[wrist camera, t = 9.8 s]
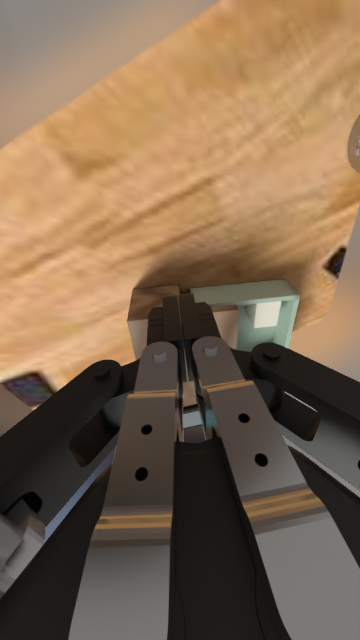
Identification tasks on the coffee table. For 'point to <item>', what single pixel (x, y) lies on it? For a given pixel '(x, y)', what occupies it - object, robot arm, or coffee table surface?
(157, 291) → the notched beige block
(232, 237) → the coffee table surface
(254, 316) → the ceramic block
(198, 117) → the coffee table surface
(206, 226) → the coffee table surface
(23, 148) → the coffee table surface
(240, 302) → the box
